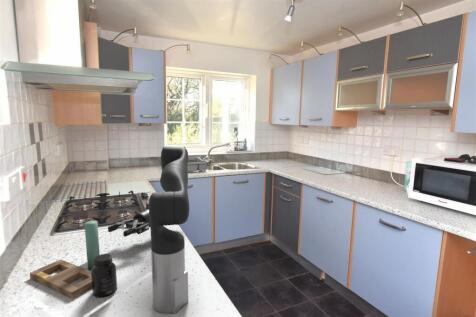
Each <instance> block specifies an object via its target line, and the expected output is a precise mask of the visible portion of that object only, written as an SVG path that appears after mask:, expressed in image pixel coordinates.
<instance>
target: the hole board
mask: <svg viewBox="0 0 476 317" xmlns="http://www.w3.org/2000/svg"><path fill="white" fill-rule="evenodd" d="M79 266H80V265H76V264H75V263H74V264H73V263H71V262H69V261H66V260H64V259H61V258H60V259H58V260H56V261H54V262H52V263H49V264H45V266H42V267H40V268H37V269H34V270H33V271H30V272H29V279H30V280H32V281H35V282H36V283H39V284H41V285H43V286H44V287H47V288H48V289H51V290H53V291H55V292H57V293H59V294H62V295H63V296H66V297H68V298H69V299H72V300H73V299H75V298H77V297H78V296H80V295H82V294H84V293H86V292H88V291H89V290H90V289H92V278H91V271H89V270H87V269H84V268H82V267H79ZM59 270H60V271H59ZM57 271H59V272H58V273H56V274H54V275H50V274H53V273H55V272H57ZM79 279H82V281H79V282H78V283H76V284H74V285H73V284H71V283H73V282H75V281H76V280H79Z"/></svg>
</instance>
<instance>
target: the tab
mask: <svg viewBox="0 0 476 317" xmlns="http://www.w3.org/2000/svg"><path fill="white" fill-rule="evenodd" d="M78 266H79V267H82V268H84V269H87V270H89V271H91V270H92V269H89V268H88V264H87V261H86V262H84V263H83V264H80V265H78Z"/></svg>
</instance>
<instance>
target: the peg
mask: <svg viewBox="0 0 476 317" xmlns="http://www.w3.org/2000/svg"><path fill="white" fill-rule="evenodd" d="M84 235H85V236H84V238H85V248H86V249H85V250H86V262H87V264H88V268H89V269H92V268H93V267H94V258H95V257H97V256H98V255H101V254H100V238H99V224H98V221H97V220H89V221H86V222H84Z"/></svg>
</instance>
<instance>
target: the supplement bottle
mask: <svg viewBox="0 0 476 317" xmlns="http://www.w3.org/2000/svg"><path fill="white" fill-rule="evenodd" d="M112 257H113V256H112V254H110V253H102V254H100V255H98V256H97V257H95V258H94V267H93V268H92V270H91V278H92V288H91V289H92V296H93V297H94V298H97V299H102V298H107V297H109V299H111V298H112V297H115V293H116V292H117V291H118V281H117V266H116V265H117V264H115V263H114V262H113V258H112ZM110 296H111V297H110Z"/></svg>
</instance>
